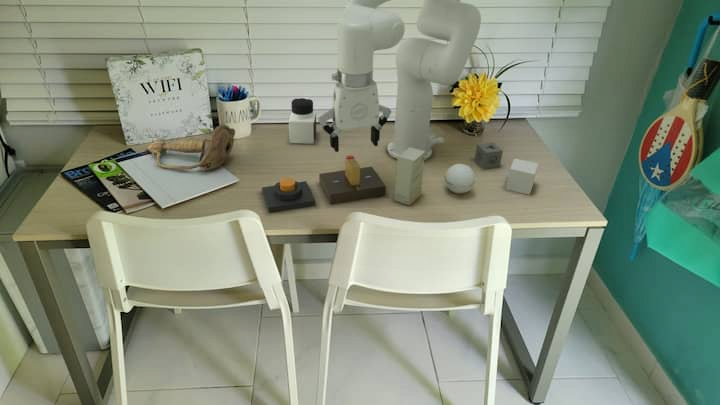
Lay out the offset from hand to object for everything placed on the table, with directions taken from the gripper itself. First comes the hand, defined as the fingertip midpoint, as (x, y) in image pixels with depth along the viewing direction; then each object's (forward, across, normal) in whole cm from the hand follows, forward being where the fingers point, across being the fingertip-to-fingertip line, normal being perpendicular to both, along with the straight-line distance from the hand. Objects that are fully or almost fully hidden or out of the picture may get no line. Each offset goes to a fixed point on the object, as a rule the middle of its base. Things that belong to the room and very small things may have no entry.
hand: (355, 146), depth 121 cm
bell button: (+8, -17, -1) cm, 19 cm away
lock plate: (+12, -1, -1) cm, 12 cm away
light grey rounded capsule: (+13, +24, -10) cm, 29 cm away
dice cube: (+13, +39, +2) cm, 41 cm away
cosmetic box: (+12, +11, -8) cm, 18 cm away
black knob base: (+11, -17, -1) cm, 20 cm away
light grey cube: (+13, +41, -11) cm, 44 cm away
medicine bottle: (+12, -6, +30) cm, 33 cm away
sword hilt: (+12, -39, +26) cm, 48 cm away
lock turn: (+9, -1, -1) cm, 9 cm away
